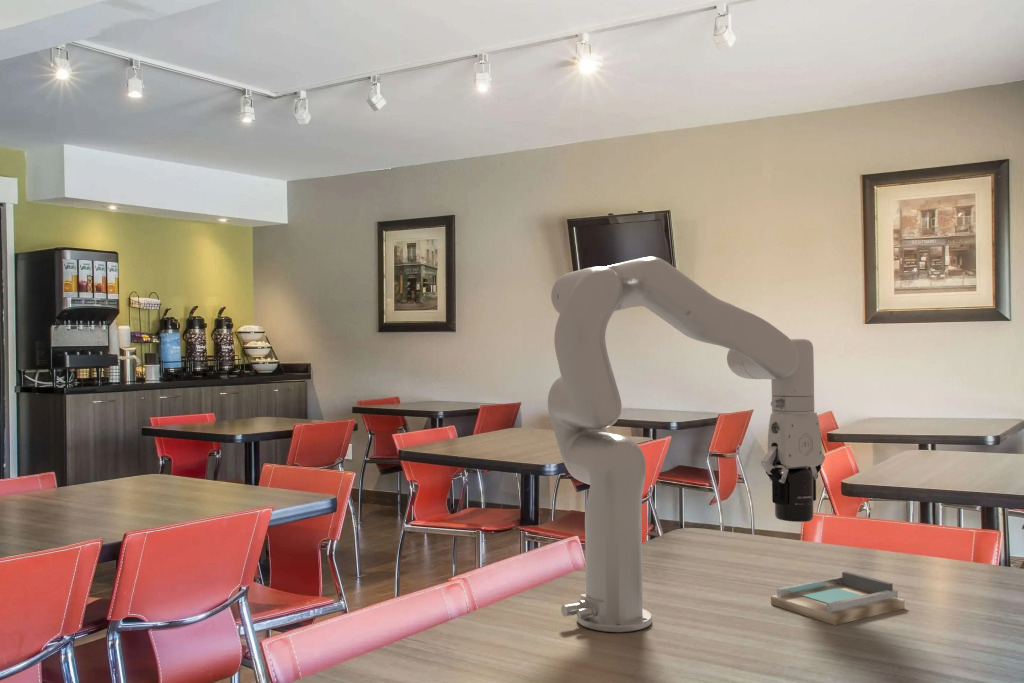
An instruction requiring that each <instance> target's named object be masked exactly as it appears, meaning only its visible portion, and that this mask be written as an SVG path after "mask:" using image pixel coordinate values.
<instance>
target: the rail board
mask: <svg viewBox="0 0 1024 683" xmlns="http://www.w3.org/2000/svg"><path fill="white" fill-rule="evenodd" d="M841 573H842V574H841V575H838V576H832V577H828V578H823V579H818V580H817V579H816V580H813V581H809V582H808V581H807V582H802V583H797V584H793V585H788V586H787V585H786V586H782V587H777V588H776V594H774V595H773V594H772V595H771V596H770V604H771V605H773V606H775V607H778V608H781V609H784V610H788V611H791V612H794V613H797V614H798V615H799V614H800V615H803V616H805V617H806V616H807V617H808V618H812V619H815V620H818V621H821V622H824V623H828V624H830V625H834V626H837V625H840V624H845V623H849V622H854V621H858V620H862V619H867V618H871V617H874V616H878V615H883V614H887V613H892V612H896V611H899V610H904V609H905V608H906V607H905V606H906V605H905V599H902V598H899V597H898V589H894V588H893V583H892V582H888V581H885V580H881V579H876V578H873V577H868V576H866V575H860V574H857V573H852V572H850V571H842V572H841Z"/></svg>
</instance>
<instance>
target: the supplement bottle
mask: <svg viewBox="0 0 1024 683" xmlns="http://www.w3.org/2000/svg"><path fill="white" fill-rule="evenodd" d="M780 464H781V463H780ZM778 472H779V473H781V470H779V471H778ZM784 483H788V504H787V505H781V504H776V503H774V517H775V518H776V519H778V520H780V521H784V522H793V523H794V522H796V523H798V522H799V523H804V522H805V523H806V522H811V521H812V520H813V518H814V501H813V473H812V472H811V471H810V470H809V469H808V468H806V467H804V468H795V469H790V468H789V471H788V474H787V477H786V480H785V482H784Z"/></svg>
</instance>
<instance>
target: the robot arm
mask: <svg viewBox="0 0 1024 683" xmlns="http://www.w3.org/2000/svg"><path fill="white" fill-rule="evenodd" d="M550 294H551V296H550V297H551V298H550V299H551V303H552V306H553V308H554V309H555V311H556V312H557V313H558V315H559V316H558V317H557V321H556V325H555V329H554V337H553V342H554V344H553V345H554V351H555V356H556V360H557V364H558V368H559V373H560V376H559V377H558V378H557V379H556V380H555V381H554V382H553V383H552V384H551V386H550V388H549V392H548V396H547V409H548V415H549V418H550V423H551V425H552V429H553V432H554V435H555V439H556V442H557V445H558V449H559V452H560V456H561V458H562V461H563V463H564V466H565V469H566V470H567V471H568V473H569V474H570V476H571V477H572V478H574V479H575V480H577V481H579V482H581V483H584V484H586V485H589V490H588V495H587V499H586V504H585V511H584V532H585V534H584V535H585V536H584V537H585V539H584V541H585V542H584V543H585V544H584V545H585V548H584V550H585V552H584V553H585V556H584V557H585V593H583V594H580V600H579V599H578V600H577V601H576V602H575V603H573V602H571V603H567V604H562V605H561V607H560V608H561V609H560V611H561V614H562V616H563V617H564V618H565V617H571V616H575V615H576V621H577V622H578V623H579V624H580V625H581V626H583V627H585V628H587V629H591V630H593V631H598V632H599V631H600V632H609V633H627V632H629V633H630V632H634V631H640V630H643V629H645V628H648V627H649V626H650V625H651V624H652V622H653V620H652V619H653V615H652V614H651V612H650V611H649V610H646V609H644V608H643V549H642V548H643V544H642V543H643V542H642V541H643V540H642V536H643V535H642V534H643V533H642V532H643V531H642V530H643V529H642V506H643V504H642V503H643V493H644V486H645V481H646V474H647V463H646V457H645V455H644V452H643V450H642V449H641V447H640V445H638V444H637V443H636V442H635V441H634V440H633V439H630V438H629V437H627V436H624V435H621V434H616V433H611V432H606V429H607V428H610V427H612V426H613V425H614V424H616V422H617V421H618V420H619V419H620V417H621V413H622V406H623V404H622V399H621V394H620V392H619V388H618V385H617V381H616V379H615V378H616V377H615V374H614V372H613V368H612V365H611V360H610V358H609V353H608V349H607V344H606V343H607V342H606V332H607V328H608V327H607V326H608V323H610V319H611V318H612V316H613V314H614V312H618V311H622V310H626V309H630V308H637V307H644V308H646V309H648V310H649V311H650V312H652V313H653V314H654V315H656V316H658V317H659V318H660V319H662V320H663V321H664V322H665V323H668V324H669V325H670V326H672V327H673V329H674V328H675V329H676V330H677V331H679V332H680V333H681V334H683V335H684V336H685V337H687V338H689V339H693V340H696V341H699V342H702V343H706V344H710V345H716V346H719V347H723V348H726V349H728V351H727V354H726V361H727V363H726V364H727V365H728V367H729V369H730V370H731V372H733V373H734V374H735V375H736V376H738V377H740V378H743V379H749V380H771V383H770V384H771V402H770V407H771V413H770V417H769V423H768V431H767V453H766V454H765V456H764V457H763V458H762V460H761V462H760V465H761V466H762V468H763V469H764V471H765V474H766V475H767V476H768V478H769V481H770V482H771V492H772V493H771V494H772V496H771V497H772V500H771V501H772V503H773V504H775V503H776V504H781V505H787V504H788V483H784V482H785V480H786V477H787V474H788V471H789V468H790V469H795V468H804V467H806V468H808V469H809V470H810V471H811V472H812V473H813V502H815V501H816V500H817V479H818V478H819V472H820V471H821V469H822V465H823V463H824V461H825V460H826V456H825V455H824V453H823V447H822V446H823V444H822V434H821V427H820V420H819V416H818V413H817V412H816V411H815V369H814V368H815V367H814V366H815V365H814V361H815V360H814V358H815V356H814V346H813V343H812V341H811V340H809V339H805V338H789V337H788V335H786V334H785V333H784V332H782V331H781V330H780V329H778V328H777V327H775V326H774V325H773V324H771V323H770V322H769V321H767V320H765V319H764V318H762V317H760V316H758V315H756V314H753V313H751V312H750V311H747V310H745V309H743V308H740V307H737V306H736V305H734V304H731V303H729V302H727V301H724V300H723V299H722V300H721V299H720V298H717V297H715V295H713V294H712V293H710V292H708V291H707V290H706V289H705V288H703V287H702V286H700V285H699V284H697V283H696V282H695V281H693V280H692V279H691V278H689V277H688V276H687V275H686V274H684V273H683V272H681V271H680V270H679V269H677V268H676V267H674V266H673V265H672V264H671V263H669V262H668V261H666V260H664V259H663V258H660V257H657V256H646V257H645V256H644V257H640V258H636V259H631V260H627V261H623V262H619V263H615V264H611V265H607V266H605V265H604V266H592V267H587V268H586V267H585V268H583V269H579V270H575V271H571V272H567V273H565V274H563V275H561V276H560V277H559V278H558V279H557V280H556V281H555V282H554V284H553V286H552V288H551V292H550ZM780 463H781V464H780ZM779 470H781V473H779V472H778V471H779Z"/></svg>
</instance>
